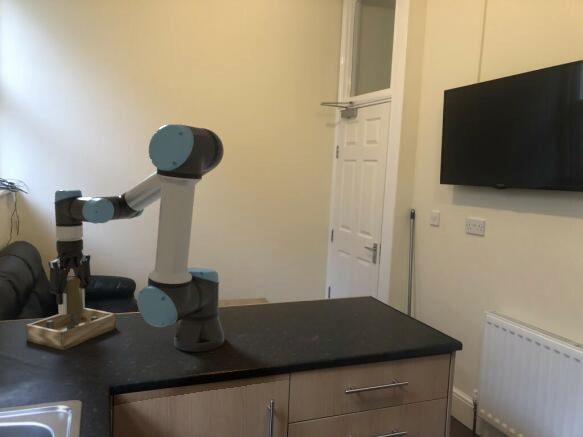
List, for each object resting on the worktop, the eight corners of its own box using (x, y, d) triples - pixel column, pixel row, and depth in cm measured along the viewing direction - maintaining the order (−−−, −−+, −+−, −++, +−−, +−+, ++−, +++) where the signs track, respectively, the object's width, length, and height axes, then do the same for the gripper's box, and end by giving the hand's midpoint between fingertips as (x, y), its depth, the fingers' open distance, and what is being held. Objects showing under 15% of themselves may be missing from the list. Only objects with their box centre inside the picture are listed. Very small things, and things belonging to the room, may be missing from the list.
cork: (86, 309, 143) (85, 275, 142) (75, 315, 137) (74, 280, 136) (68, 308, 143) (67, 275, 142) (57, 314, 137) (56, 279, 136)
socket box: (116, 328, 147) (115, 313, 146) (63, 349, 129) (62, 333, 128) (81, 321, 153) (80, 307, 153) (26, 340, 135) (25, 324, 134)
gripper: (86, 234, 148) (87, 301, 150) (33, 242, 131) (36, 317, 133) (102, 236, 145) (104, 304, 147) (50, 244, 128) (53, 321, 130)
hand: (71, 310), depth 140 cm, fingers closed on cork, 6 cm apart
